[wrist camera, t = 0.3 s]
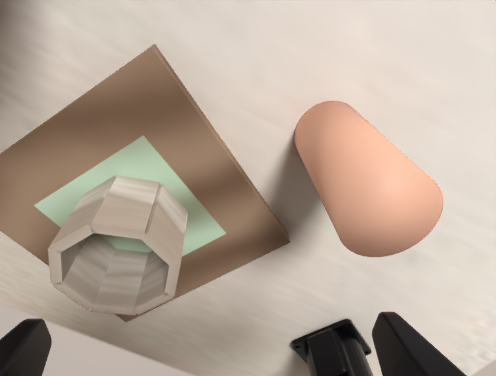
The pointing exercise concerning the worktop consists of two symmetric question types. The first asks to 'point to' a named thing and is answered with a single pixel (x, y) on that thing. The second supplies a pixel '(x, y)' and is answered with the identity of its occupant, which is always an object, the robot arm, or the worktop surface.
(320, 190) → the terracotta peg
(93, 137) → the tube board
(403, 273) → the worktop surface
